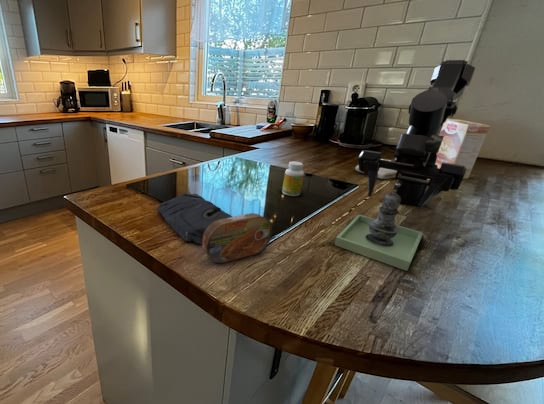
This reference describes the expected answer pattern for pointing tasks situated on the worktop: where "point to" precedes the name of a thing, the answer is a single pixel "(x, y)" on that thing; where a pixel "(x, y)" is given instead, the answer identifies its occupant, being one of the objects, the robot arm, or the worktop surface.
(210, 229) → the tin
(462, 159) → the coffeecake box
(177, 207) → the navy blue pouch
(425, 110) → the robot arm
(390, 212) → the grey tall rounded piece
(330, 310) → the worktop surface
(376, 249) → the sage tray
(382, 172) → the washcloth
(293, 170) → the supplement bottle
